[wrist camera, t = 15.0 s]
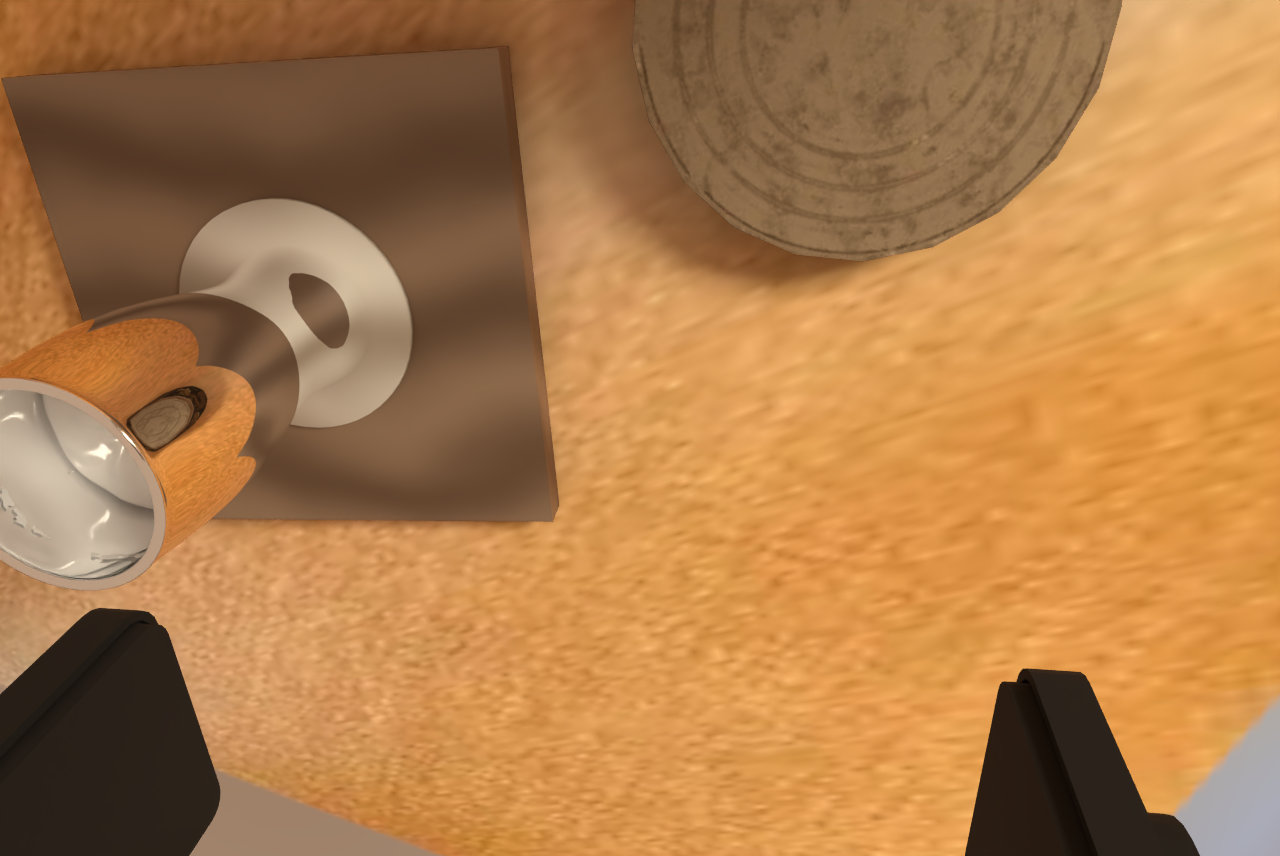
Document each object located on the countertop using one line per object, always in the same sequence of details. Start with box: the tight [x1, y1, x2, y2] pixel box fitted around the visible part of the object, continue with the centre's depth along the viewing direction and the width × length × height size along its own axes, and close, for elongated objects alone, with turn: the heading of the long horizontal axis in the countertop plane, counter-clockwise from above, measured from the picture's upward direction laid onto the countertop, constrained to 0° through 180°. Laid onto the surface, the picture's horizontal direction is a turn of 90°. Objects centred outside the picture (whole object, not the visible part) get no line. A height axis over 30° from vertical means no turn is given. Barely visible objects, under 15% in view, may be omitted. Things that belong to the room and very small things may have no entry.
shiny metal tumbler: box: [0, 246, 370, 590], centre depth 31 cm, size 7×7×15 cm
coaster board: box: [1, 46, 559, 522], centre depth 39 cm, size 20×20×2 cm
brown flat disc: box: [632, 0, 1122, 261], centre depth 31 cm, size 16×16×3 cm
